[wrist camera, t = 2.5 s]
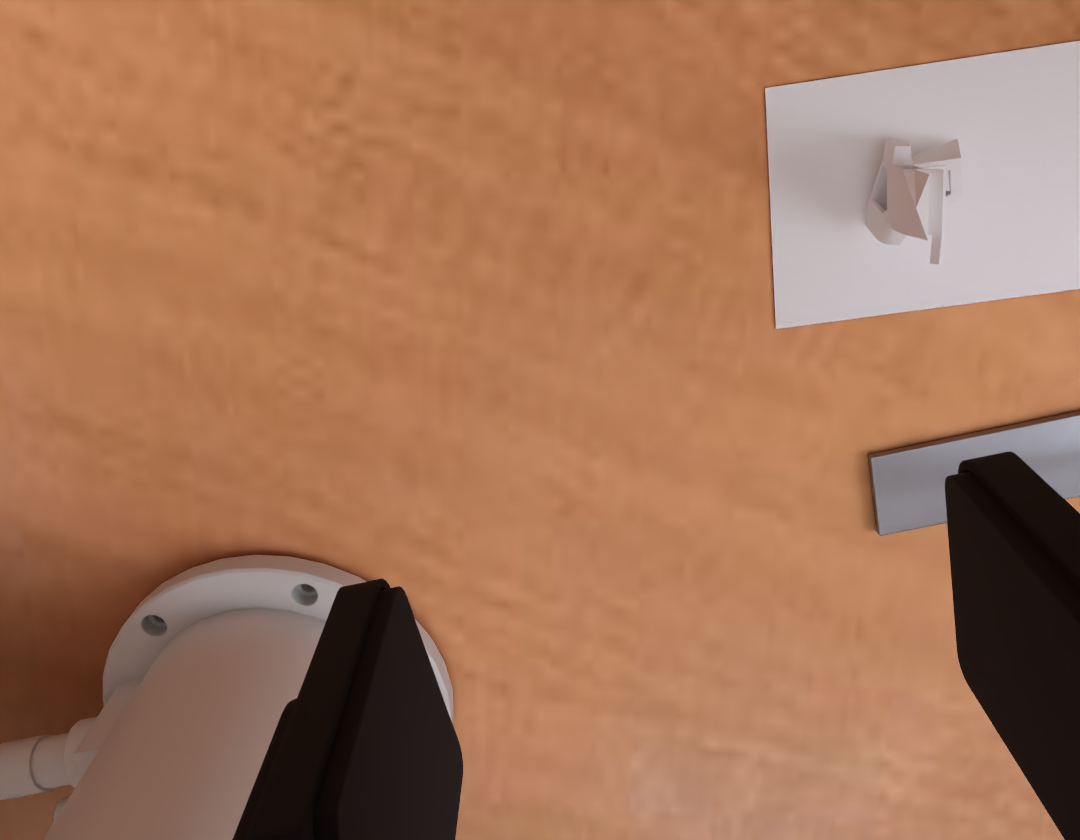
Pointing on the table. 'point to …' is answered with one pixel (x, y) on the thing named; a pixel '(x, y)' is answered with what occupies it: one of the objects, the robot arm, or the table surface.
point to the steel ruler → (920, 470)
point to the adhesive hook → (925, 185)
